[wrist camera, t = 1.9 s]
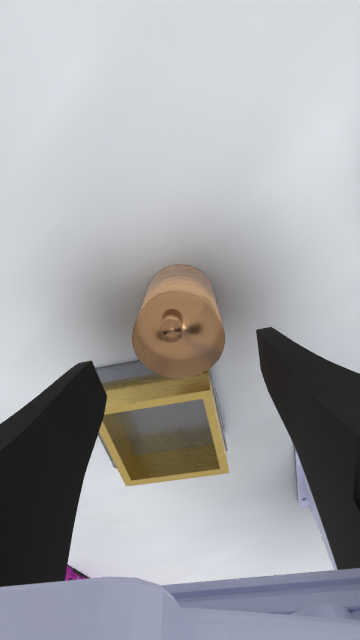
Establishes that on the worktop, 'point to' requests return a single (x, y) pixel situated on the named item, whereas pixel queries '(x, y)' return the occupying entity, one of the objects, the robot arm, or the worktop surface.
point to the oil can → (179, 324)
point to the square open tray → (161, 425)
